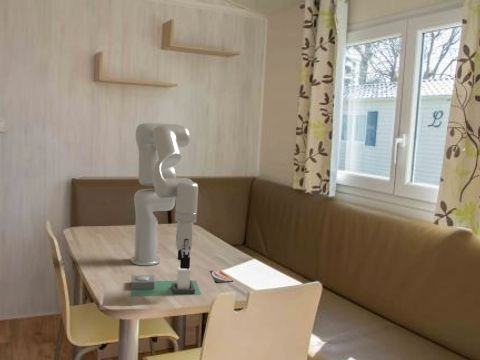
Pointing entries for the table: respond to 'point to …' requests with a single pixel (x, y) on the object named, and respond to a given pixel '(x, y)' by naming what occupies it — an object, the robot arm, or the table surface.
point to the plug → (183, 278)
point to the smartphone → (220, 277)
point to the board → (159, 287)
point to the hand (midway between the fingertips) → (183, 264)
